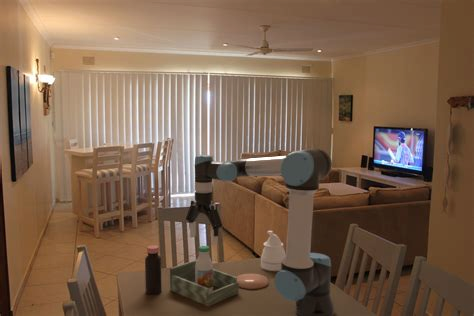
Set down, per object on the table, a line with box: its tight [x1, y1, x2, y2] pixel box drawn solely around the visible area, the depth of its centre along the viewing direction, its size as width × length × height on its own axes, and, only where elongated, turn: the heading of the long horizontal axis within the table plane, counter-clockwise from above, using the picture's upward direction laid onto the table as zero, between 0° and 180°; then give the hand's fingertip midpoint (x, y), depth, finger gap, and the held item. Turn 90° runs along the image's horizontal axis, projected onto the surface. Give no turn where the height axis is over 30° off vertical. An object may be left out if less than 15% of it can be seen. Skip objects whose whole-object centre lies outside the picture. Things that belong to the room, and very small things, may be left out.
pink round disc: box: [236, 273, 269, 290], centre depth 208 cm, size 15×15×2 cm
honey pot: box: [260, 230, 286, 272], centre depth 229 cm, size 13×13×18 cm
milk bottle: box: [195, 245, 214, 293], centre depth 196 cm, size 8×8×20 cm
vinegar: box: [144, 244, 162, 295], centre depth 196 cm, size 7×7×20 cm
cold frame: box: [169, 259, 240, 307], centre depth 197 cm, size 24×18×10 cm
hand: (203, 240), depth 195 cm, fingers open, 13 cm apart
